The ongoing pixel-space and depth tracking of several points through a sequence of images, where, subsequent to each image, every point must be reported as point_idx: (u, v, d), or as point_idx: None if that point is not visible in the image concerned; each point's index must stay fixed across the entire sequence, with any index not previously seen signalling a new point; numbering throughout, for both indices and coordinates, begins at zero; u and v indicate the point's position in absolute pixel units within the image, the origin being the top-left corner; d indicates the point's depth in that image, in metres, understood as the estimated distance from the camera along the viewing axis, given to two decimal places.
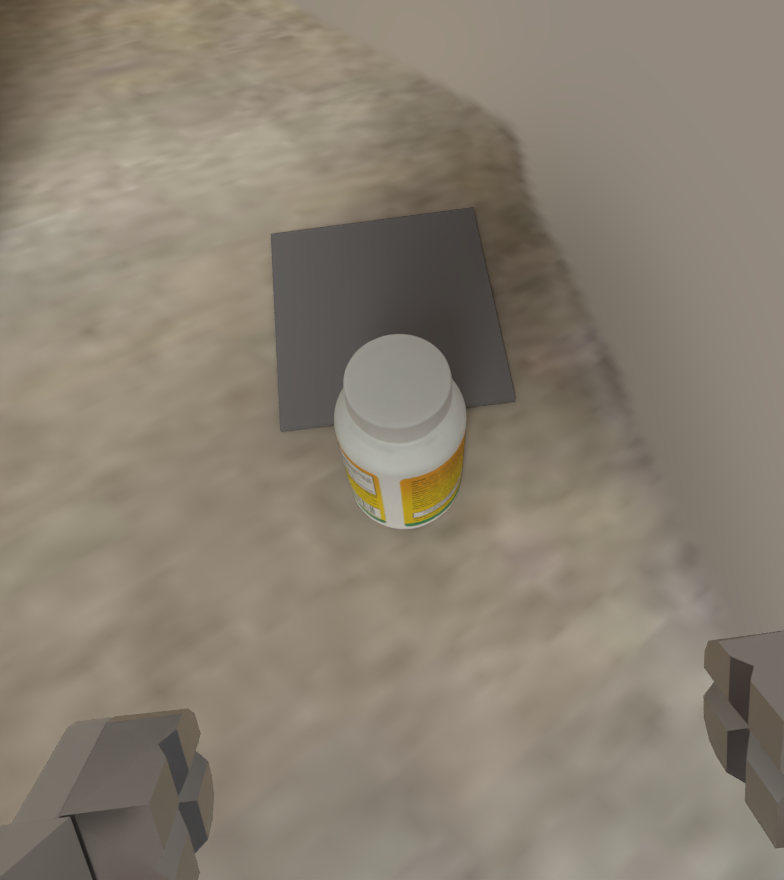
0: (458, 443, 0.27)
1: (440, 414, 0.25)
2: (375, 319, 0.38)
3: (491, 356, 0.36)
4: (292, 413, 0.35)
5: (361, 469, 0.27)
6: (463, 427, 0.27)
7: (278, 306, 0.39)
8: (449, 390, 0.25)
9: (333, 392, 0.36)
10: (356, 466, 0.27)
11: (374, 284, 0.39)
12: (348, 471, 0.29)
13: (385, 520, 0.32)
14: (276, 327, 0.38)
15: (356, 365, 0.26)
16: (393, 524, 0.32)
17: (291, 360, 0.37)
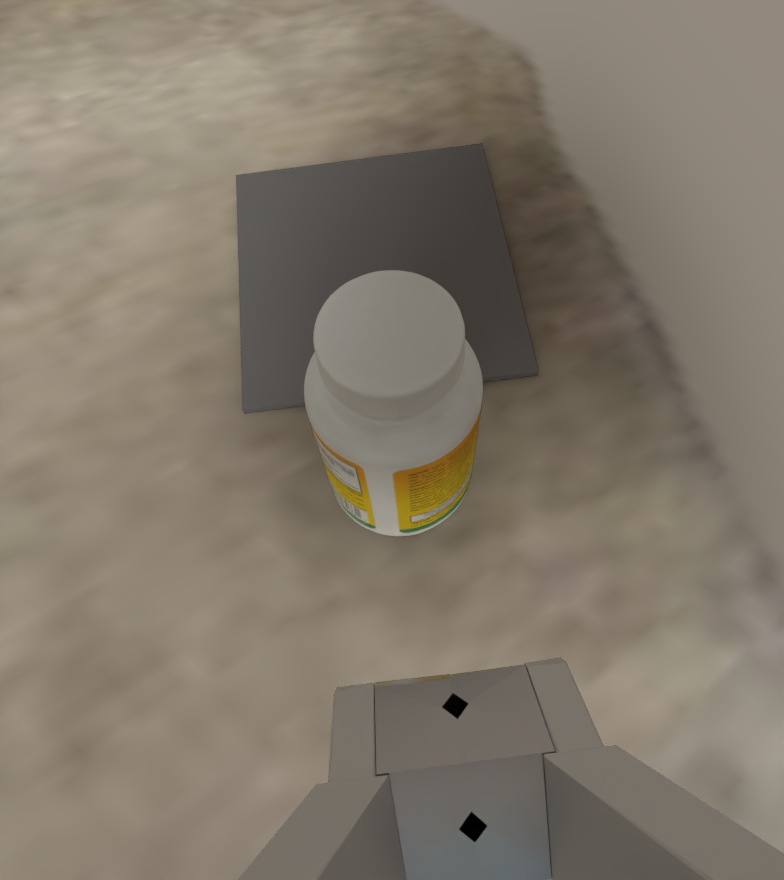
0: (472, 422, 0.20)
1: (449, 379, 0.18)
2: None
3: (507, 319, 0.29)
4: (258, 390, 0.28)
5: (341, 458, 0.20)
6: (479, 400, 0.20)
7: (243, 260, 0.31)
8: (462, 345, 0.18)
9: None
10: (333, 454, 0.20)
11: (362, 233, 0.32)
12: (325, 461, 0.22)
13: (374, 525, 0.24)
14: (240, 285, 0.31)
15: (332, 312, 0.18)
16: (385, 530, 0.25)
17: (258, 325, 0.30)
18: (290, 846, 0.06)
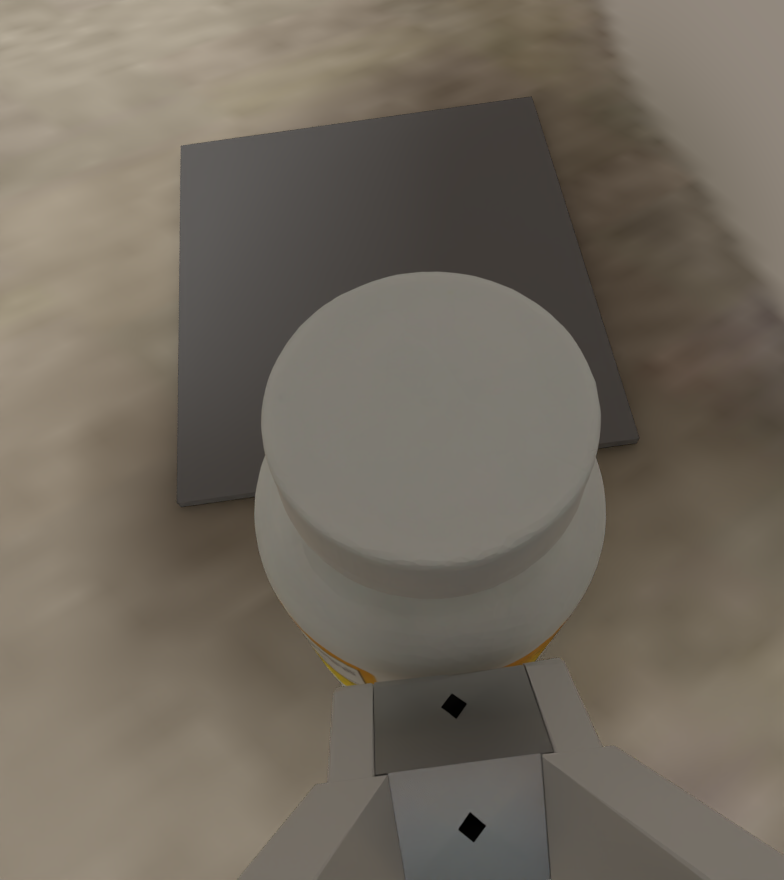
0: (592, 575, 0.10)
1: (570, 512, 0.08)
2: None
3: (585, 355, 0.19)
4: (202, 470, 0.18)
5: (328, 652, 0.10)
6: (603, 530, 0.10)
7: (186, 267, 0.21)
8: (598, 436, 0.08)
9: None
10: (313, 641, 0.10)
11: (361, 227, 0.21)
12: None
13: None
14: (181, 305, 0.21)
15: (302, 363, 0.08)
16: None
17: (205, 366, 0.20)
18: (289, 846, 0.06)
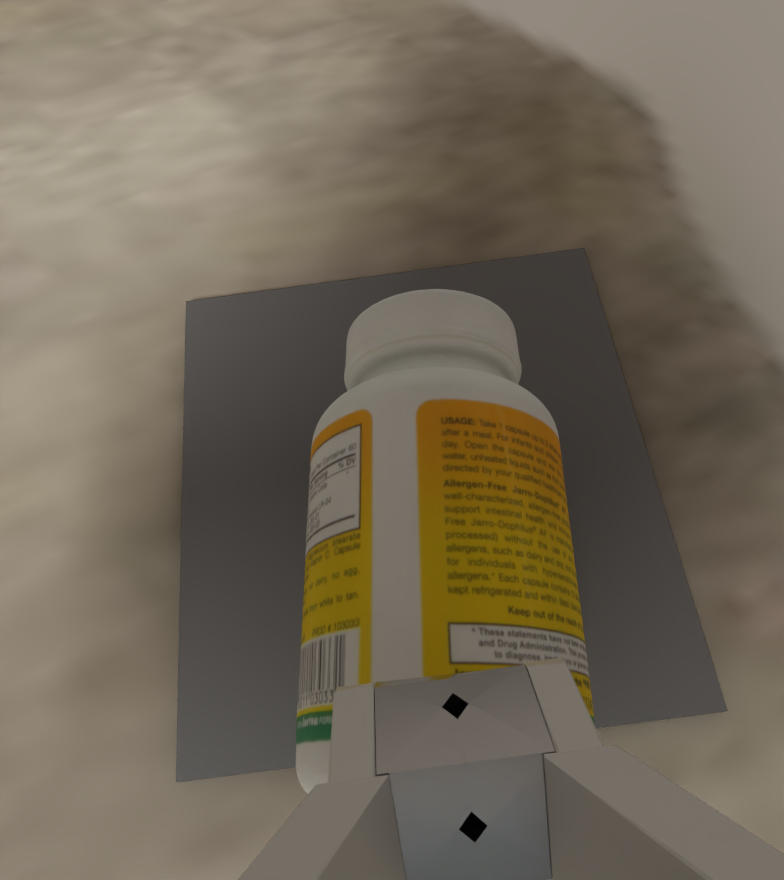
0: (541, 410, 0.14)
1: (496, 318, 0.15)
2: None
3: (657, 593, 0.16)
4: (206, 737, 0.15)
5: (342, 422, 0.13)
6: (550, 415, 0.14)
7: (191, 460, 0.18)
8: (511, 321, 0.16)
9: None
10: (332, 433, 0.13)
11: None
12: (310, 537, 0.13)
13: None
14: (184, 510, 0.18)
15: None
16: None
17: (211, 593, 0.17)
18: (290, 846, 0.06)
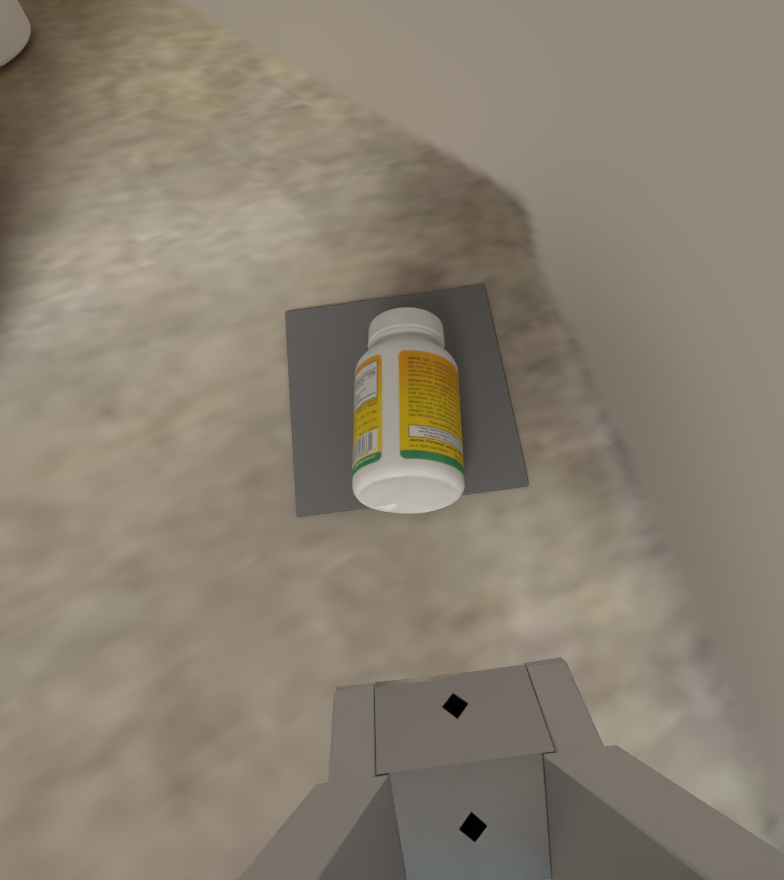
0: (448, 356, 0.34)
1: (432, 319, 0.36)
2: None
3: (504, 440, 0.37)
4: (308, 498, 0.36)
5: (369, 359, 0.34)
6: (453, 359, 0.35)
7: (293, 387, 0.39)
8: (440, 321, 0.36)
9: (348, 477, 0.36)
10: (365, 364, 0.34)
11: None
12: (356, 404, 0.34)
13: (381, 449, 0.31)
14: (291, 409, 0.38)
15: None
16: (388, 456, 0.31)
17: (306, 443, 0.37)
18: (290, 846, 0.06)
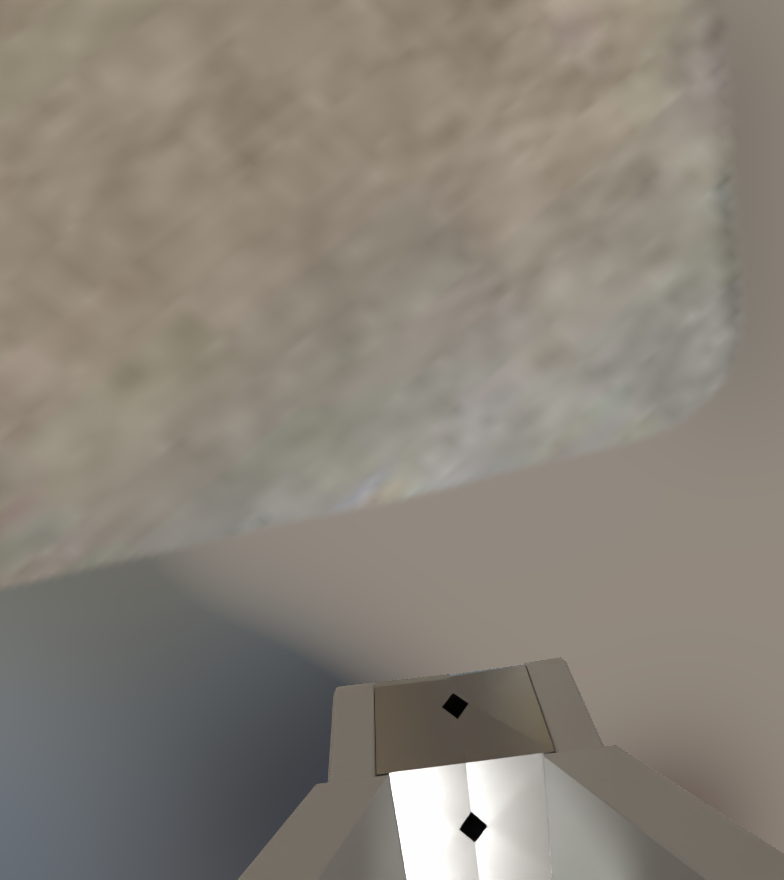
0: None
1: None
2: None
3: None
4: None
5: None
6: None
7: None
8: None
9: None
10: None
11: None
12: None
13: None
14: None
15: None
16: None
17: None
18: (290, 846, 0.06)
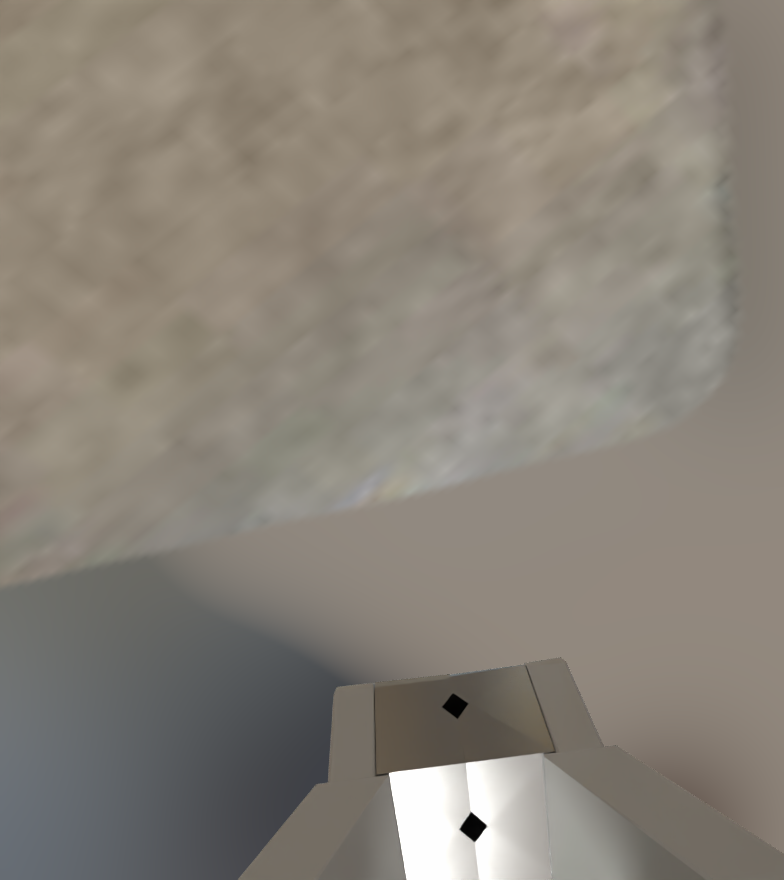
0: None
1: None
2: None
3: None
4: None
5: None
6: None
7: None
8: None
9: None
10: None
11: None
12: None
13: None
14: None
15: None
16: None
17: None
18: (290, 846, 0.06)
